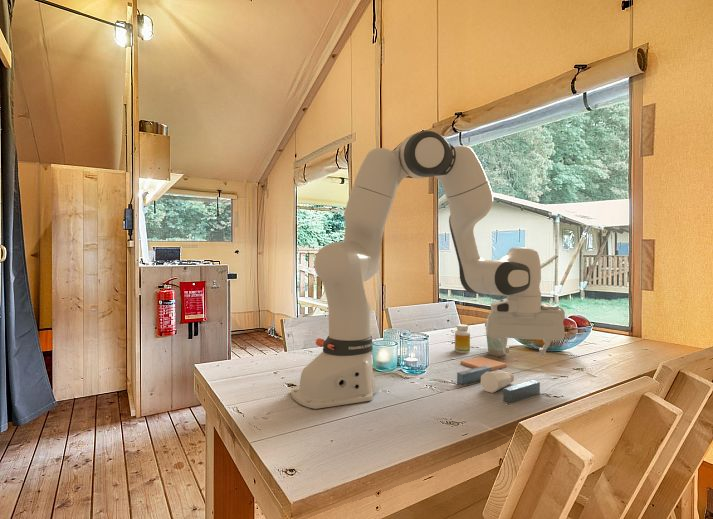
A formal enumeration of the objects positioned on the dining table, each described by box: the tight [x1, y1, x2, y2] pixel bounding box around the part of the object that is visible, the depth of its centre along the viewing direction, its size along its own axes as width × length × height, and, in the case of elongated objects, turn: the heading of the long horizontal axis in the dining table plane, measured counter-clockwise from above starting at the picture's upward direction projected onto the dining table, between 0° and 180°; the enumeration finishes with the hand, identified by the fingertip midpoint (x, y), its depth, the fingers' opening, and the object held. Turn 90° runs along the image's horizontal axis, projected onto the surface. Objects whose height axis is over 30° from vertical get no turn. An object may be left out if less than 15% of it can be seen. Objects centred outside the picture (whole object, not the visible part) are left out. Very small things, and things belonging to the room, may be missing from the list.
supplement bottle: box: [454, 323, 471, 354], centre depth 142 cm, size 5×5×10 cm
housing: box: [456, 366, 541, 404], centre depth 103 cm, size 12×17×3 cm
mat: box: [459, 356, 507, 372], centre depth 124 cm, size 10×10×1 cm
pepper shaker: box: [480, 371, 515, 394], centre depth 104 cm, size 5×5×11 cm
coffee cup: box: [484, 319, 509, 357], centre depth 139 cm, size 8×8×12 cm
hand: (524, 354), depth 109 cm, fingers open, 8 cm apart
